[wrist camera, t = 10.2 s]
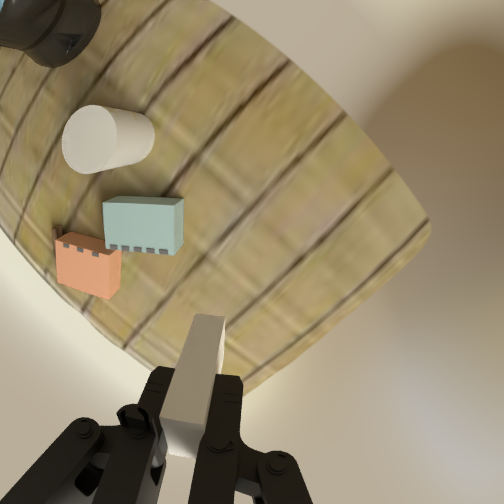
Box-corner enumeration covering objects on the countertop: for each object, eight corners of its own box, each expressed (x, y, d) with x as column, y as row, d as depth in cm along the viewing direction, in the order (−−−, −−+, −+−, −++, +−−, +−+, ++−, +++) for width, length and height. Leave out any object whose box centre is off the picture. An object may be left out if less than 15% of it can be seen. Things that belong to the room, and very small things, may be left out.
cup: (152, 107, 37) (115, 97, 26) (156, 160, 40) (120, 168, 29) (105, 118, 37) (60, 114, 26) (109, 168, 40) (65, 178, 29)
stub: (71, 230, 44) (54, 240, 39) (122, 244, 45) (108, 256, 40) (71, 270, 47) (57, 282, 42) (120, 286, 48) (108, 300, 43)
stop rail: (58, 225, 44) (51, 228, 42) (62, 225, 44) (55, 228, 42) (66, 280, 48) (61, 284, 46) (70, 280, 48) (64, 285, 46)
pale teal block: (118, 195, 42) (101, 202, 37) (183, 198, 42) (173, 205, 37) (120, 238, 44) (105, 249, 39) (183, 243, 44) (173, 255, 39)
